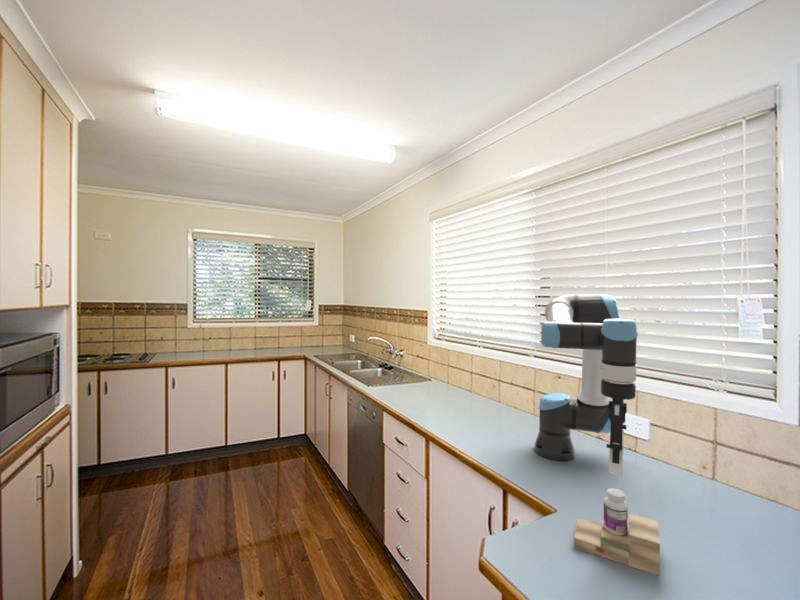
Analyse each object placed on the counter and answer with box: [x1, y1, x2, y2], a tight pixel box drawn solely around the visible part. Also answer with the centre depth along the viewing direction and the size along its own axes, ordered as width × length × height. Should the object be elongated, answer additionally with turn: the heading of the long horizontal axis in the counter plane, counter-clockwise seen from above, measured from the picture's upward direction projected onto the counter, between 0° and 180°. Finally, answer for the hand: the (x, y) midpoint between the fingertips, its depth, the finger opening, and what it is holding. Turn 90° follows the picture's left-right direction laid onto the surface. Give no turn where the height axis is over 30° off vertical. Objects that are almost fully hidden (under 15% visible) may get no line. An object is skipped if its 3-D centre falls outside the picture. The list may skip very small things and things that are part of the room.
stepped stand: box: [573, 513, 661, 577], centre depth 95 cm, size 10×18×8 cm, turn 58°
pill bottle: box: [603, 487, 629, 535], centre depth 95 cm, size 5×5×10 cm
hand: (616, 463), depth 95 cm, fingers open, 13 cm apart
